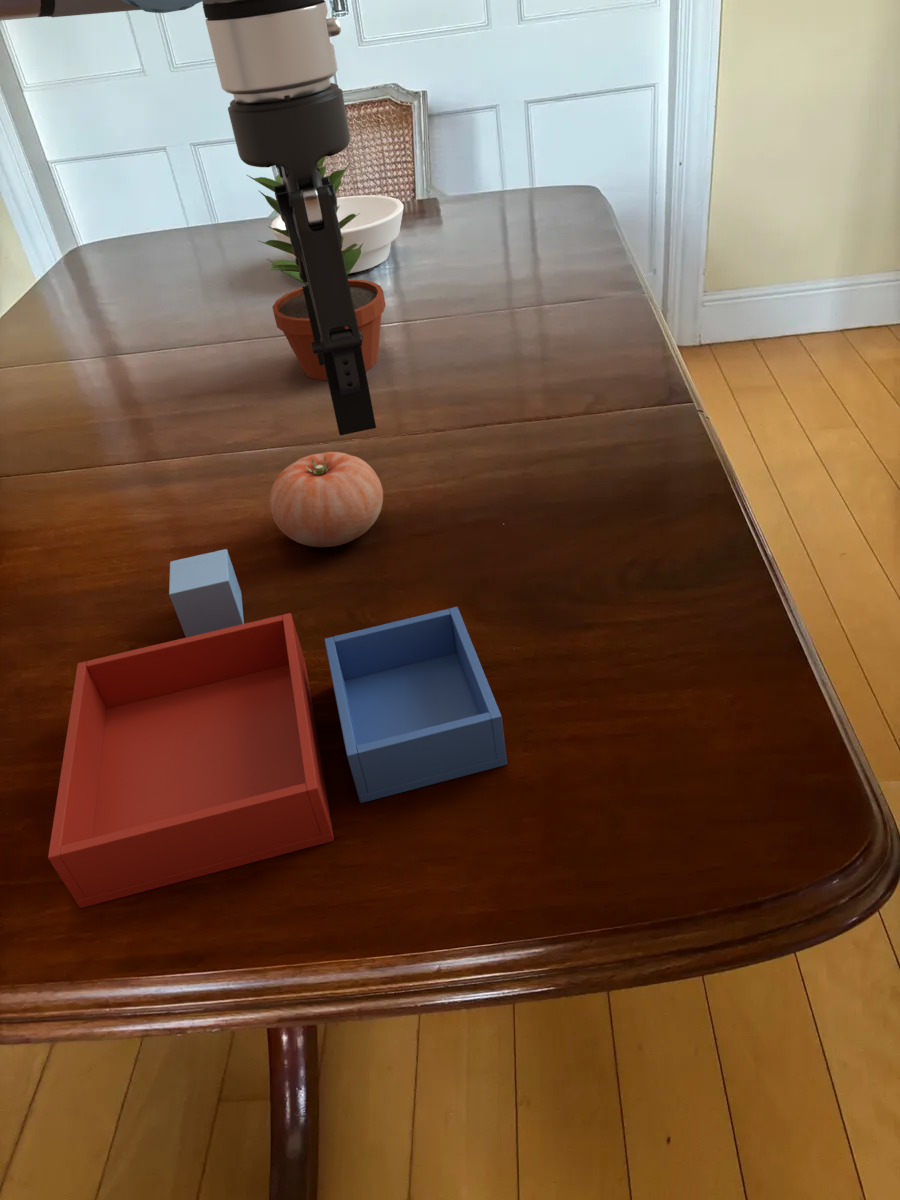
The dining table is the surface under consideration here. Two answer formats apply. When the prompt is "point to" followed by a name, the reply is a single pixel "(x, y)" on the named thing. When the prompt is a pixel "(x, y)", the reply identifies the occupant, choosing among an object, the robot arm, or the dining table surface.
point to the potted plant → (293, 305)
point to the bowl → (363, 227)
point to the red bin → (188, 762)
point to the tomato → (326, 499)
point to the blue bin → (414, 704)
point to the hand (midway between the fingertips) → (345, 393)
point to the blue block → (205, 593)
